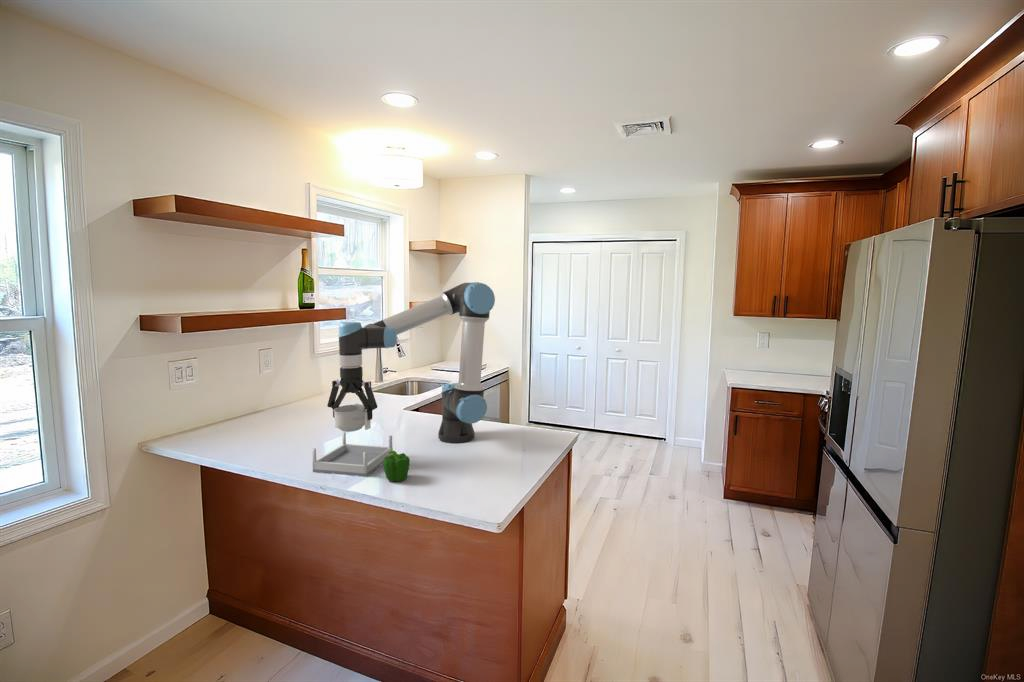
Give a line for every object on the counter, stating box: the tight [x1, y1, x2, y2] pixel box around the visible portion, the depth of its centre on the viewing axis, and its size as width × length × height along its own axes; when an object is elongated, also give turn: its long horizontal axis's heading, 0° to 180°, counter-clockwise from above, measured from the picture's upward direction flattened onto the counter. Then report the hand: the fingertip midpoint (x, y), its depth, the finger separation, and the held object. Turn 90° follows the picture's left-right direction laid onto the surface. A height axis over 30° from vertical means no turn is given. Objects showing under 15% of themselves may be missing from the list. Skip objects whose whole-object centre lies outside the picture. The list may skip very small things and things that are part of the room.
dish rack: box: [311, 431, 394, 477], centre depth 177 cm, size 20×20×8 cm
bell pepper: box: [383, 450, 411, 482], centre depth 163 cm, size 8×8×10 cm
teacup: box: [334, 403, 367, 433], centre depth 176 cm, size 14×11×8 cm
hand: (353, 427), depth 176 cm, fingers closed on teacup, 11 cm apart
